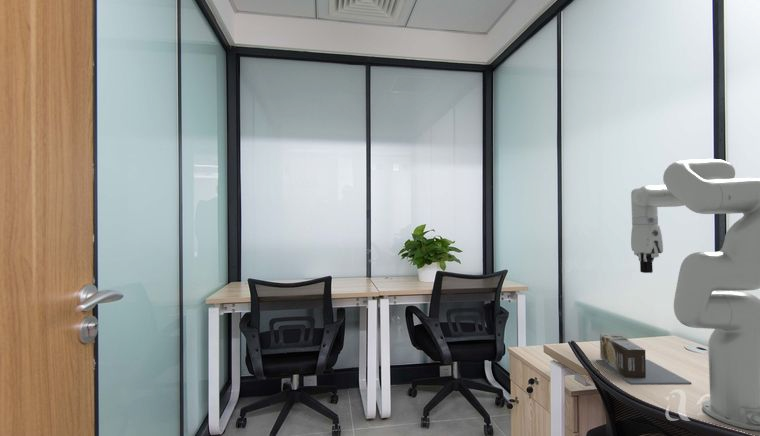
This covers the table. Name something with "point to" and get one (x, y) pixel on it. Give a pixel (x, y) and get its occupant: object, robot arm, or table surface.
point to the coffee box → (623, 355)
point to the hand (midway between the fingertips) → (646, 272)
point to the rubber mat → (651, 375)
